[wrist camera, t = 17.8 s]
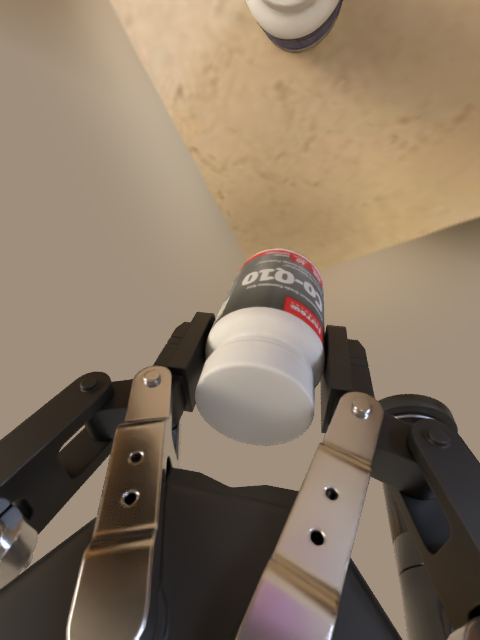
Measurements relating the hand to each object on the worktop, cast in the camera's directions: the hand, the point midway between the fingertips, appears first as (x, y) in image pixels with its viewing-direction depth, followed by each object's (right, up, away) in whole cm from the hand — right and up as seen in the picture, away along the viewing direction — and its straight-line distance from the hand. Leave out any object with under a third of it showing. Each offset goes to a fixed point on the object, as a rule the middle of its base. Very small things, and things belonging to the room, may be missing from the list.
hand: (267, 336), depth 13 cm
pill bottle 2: (+1, +3, +4) cm, 5 cm away
